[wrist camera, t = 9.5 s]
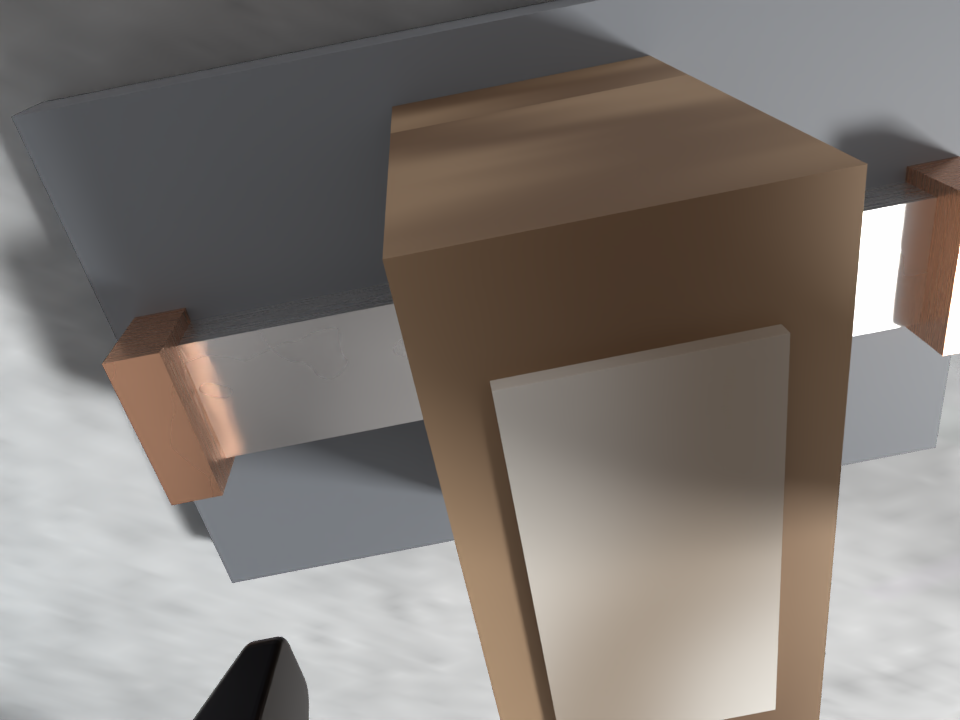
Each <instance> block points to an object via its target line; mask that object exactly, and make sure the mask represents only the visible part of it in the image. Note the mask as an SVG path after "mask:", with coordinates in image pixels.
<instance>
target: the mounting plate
mask: <svg viewBox="0 0 960 720" xmlns="http://www.w3.org/2000/svg"><path fill="white" fill-rule="evenodd" d="M645 56H652V57H654V58H656V59H658V60H660V61H662V62H664V63H666V64H668V65H670V66H672V67H674V68H676V69H678V70H680V71H682V72H684V73H686V74H688V75H690V76H692V77H694V78H696V79H698V80H700V81H702V82H704V83H706V84H708V85H710V86H712V87H714V88H716V89H718V90H720V91H722V92H724V93H726V94H728V95H730V96H732V97H734V98H736V99H738V100H740V101H742V102H744V103H746V104H748V105H750V106H752V107H754V108H756V109H758V110H760V111H762V112H764V113H766V114H768V115H770V116H772V117H774V118H776V119H778V120H780V121H782V122H784V123H786V124H788V125H790V126H792V127H794V128H796V129H798V130H800V131H802V132H804V133H806V134H808V135H810V136H812V137H814V138H816V139H818V140H820V141H822V142H824V143H826V144H828V145H830V146H832V147H834V148H836V149H838V150H840V151H842V152H844V153H846V154H848V155H850V156H852V157H854V158H856V159H859V160H861V161H863V162H865V163H867V175H866V187H865V189H870V188H875V187H880V186H885V185H890V184H895V183H900V182H905V178H906V169H907V166H911V165H916V164H921V163H926V162H931V161H936V160H942V159H947V158H952V157H957V156H960V0H556V1H551V2H546V3H541V4H536V5H531V6H526V7H521V8H516V9H511V10H506V11H501V12H496V13H491V14H486V15H481V16H476V17H471V18H465V19H460V20H455V21H450V22H445V23H440V24H435V25H430V26H425V27H420V28H415V29H410V30H405V31H400V32H395V33H390V34H385V35H380V36H375V37H370V38H365V39H360V40H355V41H350V42H345V43H339V44H334V45H329V46H324V47H319V48H314V49H309V50H304V51H299V52H294V53H289V54H284V55H279V56H274V57H269V58H264V59H259V60H254V61H249V62H244V63H239V64H234V65H229V66H224V67H219V68H213V69H208V70H203V71H198V72H193V73H188V74H183V75H178V76H173V77H168V78H163V79H158V80H153V81H148V82H143V83H138V84H133V85H128V86H123V87H118V88H113V89H108V90H103V91H98V92H93V93H87V94H82V95H77V96H72V97H67V98H62V99H57V100H52V101H47V102H42V103H40V104H37V105H35V106H33V107H31V108H29V109H27V110H25V111H23V112H20V113H18V114H16V115H14V116H12V119H13V121H14V123H15V125H16V128H17V130H18V132H19V134H20V136H21V138H22V140H23V142H24V144H25V147H26V149H27V151H28V153H29V155H30V157H31V159H32V161H33V163H34V166H35V168H36V170H37V172H38V174H39V176H40V178H41V180H42V182H43V185H44V187H45V189H46V191H47V193H48V195H49V197H50V199H51V201H52V204H53V206H54V208H55V210H56V212H57V214H58V216H59V218H60V220H61V223H62V225H63V227H64V229H65V231H66V233H67V235H68V237H69V239H70V242H71V244H72V246H73V248H74V250H75V252H76V254H77V256H78V258H79V261H80V263H81V265H82V267H83V269H84V271H85V273H86V275H87V277H88V279H89V282H90V284H91V286H92V288H93V290H94V292H95V294H96V296H97V298H98V301H99V303H100V305H101V307H102V309H103V311H104V313H105V315H106V317H107V320H108V322H109V324H110V326H111V328H112V330H113V332H114V334H115V336H116V339H117V341H118V340H119V339H120V337H121V336H122V335H123V333H124V332H125V330H126V329H127V327H128V326H129V325H130V323H131V322H132V320H133V319H134V317H140V316H145V315H150V314H155V313H160V312H165V311H170V310H175V309H180V308H186V310H187V312H188V315H189V317H190V320H191V321H195V320H200V319H205V318H210V317H215V316H220V315H226V314H231V313H236V312H241V311H246V310H251V309H256V308H261V307H266V306H272V305H277V304H282V303H287V302H292V301H297V300H302V299H307V298H312V297H318V296H323V295H328V294H333V293H338V292H343V291H348V290H353V289H358V288H364V287H369V286H374V285H379V284H384V283H388V279H387V275H386V271H385V268H384V264H383V260H382V258H383V243H384V227H385V211H386V196H387V180H388V165H389V149H390V133H391V118H392V107H393V106H398V105H403V104H408V103H413V102H418V101H423V100H428V99H433V98H438V97H443V96H448V95H453V94H458V93H463V92H468V91H473V90H478V89H483V88H488V87H494V86H499V85H504V84H509V83H514V82H519V81H524V80H529V79H534V78H539V77H544V76H549V75H554V74H559V73H564V72H569V71H574V70H579V69H584V68H589V67H594V66H599V65H604V64H609V63H614V62H619V61H624V60H629V59H634V58H640V57H645ZM950 358H951V355H946V356H942V355H941V354H939V353H938V352H937V351H935V350H934V349H933V348H932V347H930V346H929V345H928V344H927V343H925V342H924V341H923V340H921V339H920V338H919V337H918V336H916V335H915V334H914V333H913V332H911V331H910V330H909V329H907V328H906V327H905V326H904V327H899V328H894V329H888V330H883V331H878V332H873V333H868V334H863V335H858V336H852V348H851V359H850V371H849V382H848V393H847V405H846V416H845V428H844V439H843V451H842V462H841V466H842V465H848V464H853V463H858V462H863V461H868V460H874V459H879V458H884V457H889V456H894V455H900V454H905V453H910V452H915V451H920V450H926V449H931V448H936V442H937V436H938V430H939V424H940V418H941V412H942V406H943V400H944V394H945V388H946V382H947V376H948V370H949V364H950ZM194 503H195V505H196V507H197V509H198V512H199V514H200V516H201V518H202V520H203V522H204V524H205V526H206V528H207V531H208V533H209V535H210V537H211V539H212V541H213V543H214V545H215V547H216V550H217V552H218V554H219V556H220V558H221V560H222V562H223V564H224V566H225V569H226V571H227V573H228V575H229V577H230V579H231V581H232V583H235V582H240V581H245V580H250V579H256V578H261V577H266V576H271V575H276V574H282V573H287V572H292V571H297V570H302V569H308V568H313V567H318V566H323V565H328V564H334V563H339V562H344V561H349V560H354V559H359V558H365V557H370V556H375V555H380V554H385V553H391V552H396V551H401V550H406V549H411V548H417V547H422V546H427V545H432V544H437V543H443V542H448V541H453V540H454V537H453V533H452V529H451V525H450V521H449V517H448V513H447V509H446V505H445V501H444V498H443V494H442V490H441V486H440V482H439V478H438V474H437V470H436V466H435V462H434V459H433V455H432V451H431V447H430V443H429V439H428V435H427V431H426V427H425V424H424V420H419V421H414V422H409V423H404V424H399V425H394V426H388V427H383V428H378V429H373V430H368V431H363V432H357V433H352V434H347V435H342V436H337V437H332V438H327V439H321V440H316V441H311V442H306V443H301V444H296V445H290V446H285V447H280V448H275V449H270V450H265V451H260V452H254V453H249V454H244V455H239V456H235V459H234V462H233V465H232V468H231V471H230V474H229V477H228V481H227V484H226V487H225V490H224V493H223V495H222V496H217V497H212V498H207V499H202V500H197V501H194Z"/></svg>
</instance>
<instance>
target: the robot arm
mask: <svg viewBox="0 0 960 720" xmlns="http://www.w3.org/2000/svg"><path fill="white" fill-rule="evenodd" d="M193 720H309V697H308V689H307V685H306V681H305V678H304V676H303V674H302V672H301V670H300V667H299V665H298V663H297V661H296V658H295V656H294V654H293V652H292V650H291V647H290V645H289V643H288V642H287V640H286V639H285V638H283V637H274V638H268V639H263V640H258V641H253V642H251V643H249V644H248V645H247V646H245V647H244V649H243V650H242V651H241V653H240V654H239V655H238V657H237V658H236V660H235V661H234V663H233V664H232V665H231V667H230V668H229V670H228V671H227V672H226V674H225V675H224V677H223V678H222V680H221V681H220V682H219V684H218V685H217V687H216V688H215V689H214V691H213V692H212V694H211V695H210V696H209V698H208V699H207V701H206V702H205V704H204V705H203V706H202V708H201V709H200V711H199V712H198V713H197V715H196V716H195V718H194V719H193Z"/></svg>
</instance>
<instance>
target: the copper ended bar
mask: <svg viewBox="0 0 960 720" xmlns="http://www.w3.org/2000/svg"><path fill="white" fill-rule="evenodd" d="M904 326H905V327H906V328H907V329H909V330H910V331H911V332H913V333H914V334H915V335H916V336H918V337H919V338H920V339H921V340H923V341H924V342H925V343H927V344H928V345H929V346H930V347H932V348H933V349H934V350H935V351H937V352H938V353H939V354H941V355H942V356H946V355H951V354H956V353H960V156H957V157H952V158H947V159H942V160H936V161H931V162H926V163H921V164H916V165H911V166H907V169H906V178H905V182H900V183H895V184H890V185H885V186H880V187H875V188H870V189H865V198H864V210H863V221H862V233H861V244H860V256H859V267H858V279H857V290H856V302H855V313H854V325H853V336H858V335H863V334H868V333H873V332H878V331H883V330H888V329H894V328H899V327H904ZM102 365H103V367H104V369H105V371H106V373H107V375H108V377H109V379H110V382H111V384H112V386H113V388H114V390H115V392H116V394H117V396H118V398H119V400H120V402H121V404H122V406H123V408H124V410H125V412H126V414H127V416H128V418H129V420H130V422H131V424H132V426H133V428H134V430H135V432H136V434H137V436H138V438H139V440H140V442H141V444H142V446H143V448H144V450H145V452H146V454H147V456H148V458H149V460H150V462H151V464H152V466H153V468H154V470H155V472H156V474H157V476H158V479H159V481H160V483H161V485H162V487H163V489H164V491H165V493H166V495H167V497H168V499H169V501H170V503H171V505H176V504H181V503H186V502H191V501H197V500H202V499H207V498H212V497H217V496H222V495H223V493H224V490H225V487H226V484H227V481H228V477H229V474H230V471H231V468H232V465H233V462H234V459H235V456H239V455H244V454H249V453H254V452H260V451H265V450H270V449H275V448H280V447H285V446H290V445H296V444H301V443H306V442H311V441H316V440H321V439H327V438H332V437H337V436H342V435H347V434H352V433H357V432H363V431H368V430H373V429H378V428H383V427H388V426H394V425H399V424H404V423H409V422H414V421H419V420H423V416H422V412H421V408H420V404H419V400H418V396H417V392H416V388H415V385H414V381H413V377H412V373H411V369H410V365H409V361H408V357H407V353H406V349H405V346H404V342H403V338H402V334H401V330H400V326H399V322H398V318H397V314H396V310H395V307H394V303H393V299H392V295H391V291H390V287H389V283H384V284H379V285H374V286H369V287H364V288H358V289H353V290H348V291H343V292H338V293H333V294H328V295H323V296H318V297H312V298H307V299H302V300H297V301H292V302H287V303H282V304H277V305H272V306H266V307H261V308H256V309H251V310H246V311H241V312H236V313H231V314H226V315H220V316H215V317H210V318H205V319H200V320H195V321H191V320H190V317H189V315H188V312H187V310H186V308H180V309H175V310H170V311H165V312H160V313H155V314H150V315H145V316H140V317H134V319H133V320H132V322H131V323H130V325H129V326H128V327H127V329H126V330H125V332H124V333H123V335H122V336H121V337H120V339H119V340H118V342H117V343H116V345H115V346H114V347H113V349H112V350H111V352H110V353H109V355H108V356H107V357H106V359H105V360H104V362H103V363H102Z"/></svg>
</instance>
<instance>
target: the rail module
mask: <svg viewBox="0 0 960 720" xmlns="http://www.w3.org/2000/svg"><path fill="white" fill-rule="evenodd" d="M866 175H867V163H865V162H863V161H861V160H859V159H856V158H854V157H852V156H850V155H848V154H846V153H844V152H842V151H840V150H838V149H836V148H834V147H832V146H830V145H828V144H826V143H824V142H822V141H820V140H818V139H816V138H814V137H812V136H810V135H808V134H806V133H804V132H802V131H800V130H798V129H796V128H794V127H792V126H790V125H788V124H786V123H784V122H782V121H780V120H778V119H776V118H774V117H772V116H770V115H768V114H766V113H764V112H762V111H760V110H758V109H756V108H754V107H752V106H750V105H748V104H746V103H744V102H742V101H740V100H738V99H736V98H734V97H732V96H730V95H728V94H726V93H724V92H722V91H720V90H718V89H716V88H714V87H712V86H710V85H708V84H706V83H704V82H702V81H700V80H698V79H696V78H694V77H692V76H690V75H688V74H686V73H684V72H682V71H680V70H678V69H676V68H674V67H672V66H670V65H668V64H666V63H664V62H662V61H660V60H658V59H656V58H654V57H652V56H645V57H640V58H634V59H629V60H624V61H619V62H614V63H609V64H604V65H599V66H594V67H589V68H584V69H579V70H574V71H569V72H564V73H559V74H554V75H549V76H544V77H539V78H534V79H529V80H524V81H519V82H514V83H509V84H504V85H499V86H494V87H488V88H483V89H478V90H473V91H468V92H463V93H458V94H453V95H448V96H443V97H438V98H433V99H428V100H423V101H418V102H413V103H408V104H403V105H398V106H393V107H392V118H391V133H390V149H389V165H388V180H387V196H386V211H385V227H384V243H383V258H382V260H383V264H384V268H385V271H386V275H387V279H388V283H389V287H390V291H391V295H392V299H393V303H394V307H395V310H396V314H397V318H398V322H399V326H400V330H401V334H402V338H403V342H404V346H405V349H406V353H407V357H408V361H409V365H410V369H411V373H412V377H413V381H414V385H415V388H416V392H417V396H418V400H419V404H420V408H421V412H422V416H423V420H424V424H425V427H426V431H427V435H428V439H429V443H430V447H431V451H432V455H433V459H434V462H435V466H436V470H437V474H438V478H439V482H440V486H441V490H442V494H443V498H444V501H445V505H446V509H447V513H448V517H449V521H450V525H451V529H452V533H453V537H454V540H455V544H456V548H457V552H458V556H459V560H460V564H461V568H462V572H463V576H464V579H465V583H466V587H467V591H468V595H469V599H470V603H471V607H472V611H473V615H474V618H475V622H476V626H477V630H478V634H479V638H480V642H481V646H482V650H483V654H484V657H485V661H486V665H487V669H488V673H489V677H490V681H491V685H492V689H493V693H494V696H495V700H496V704H497V708H498V712H499V716H500V720H819V715H820V703H821V692H822V680H823V669H824V657H825V646H826V634H827V623H828V611H829V600H830V589H831V577H832V566H833V554H834V543H835V531H836V520H837V508H838V497H839V485H840V474H841V462H842V451H843V439H844V428H845V416H846V405H847V393H848V382H849V371H850V359H851V348H852V336H853V325H854V313H855V302H856V290H857V279H858V267H859V256H860V244H861V233H862V221H863V210H864V198H865V187H866Z"/></svg>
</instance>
